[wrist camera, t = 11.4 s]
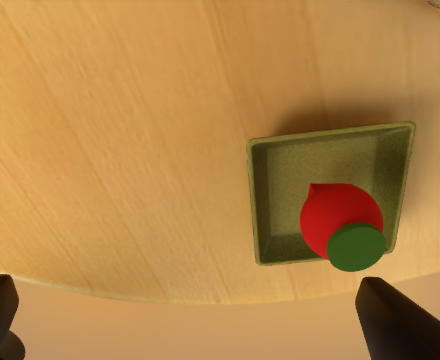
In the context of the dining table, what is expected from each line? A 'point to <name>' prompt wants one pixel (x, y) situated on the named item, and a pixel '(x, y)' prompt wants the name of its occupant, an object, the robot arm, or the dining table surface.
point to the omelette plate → (434, 3)
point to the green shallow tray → (323, 181)
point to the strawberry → (343, 225)
